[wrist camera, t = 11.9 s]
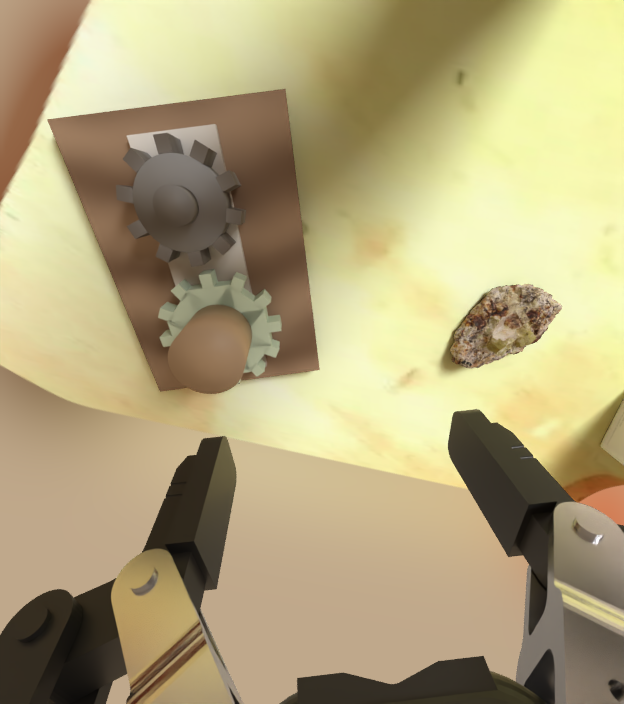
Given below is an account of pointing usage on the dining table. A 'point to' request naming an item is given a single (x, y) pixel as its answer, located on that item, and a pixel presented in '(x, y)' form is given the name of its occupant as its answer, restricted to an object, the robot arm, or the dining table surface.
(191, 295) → the planet gear
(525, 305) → the mineral rock
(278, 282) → the carrier board
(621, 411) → the tea box
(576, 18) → the dining table surface
